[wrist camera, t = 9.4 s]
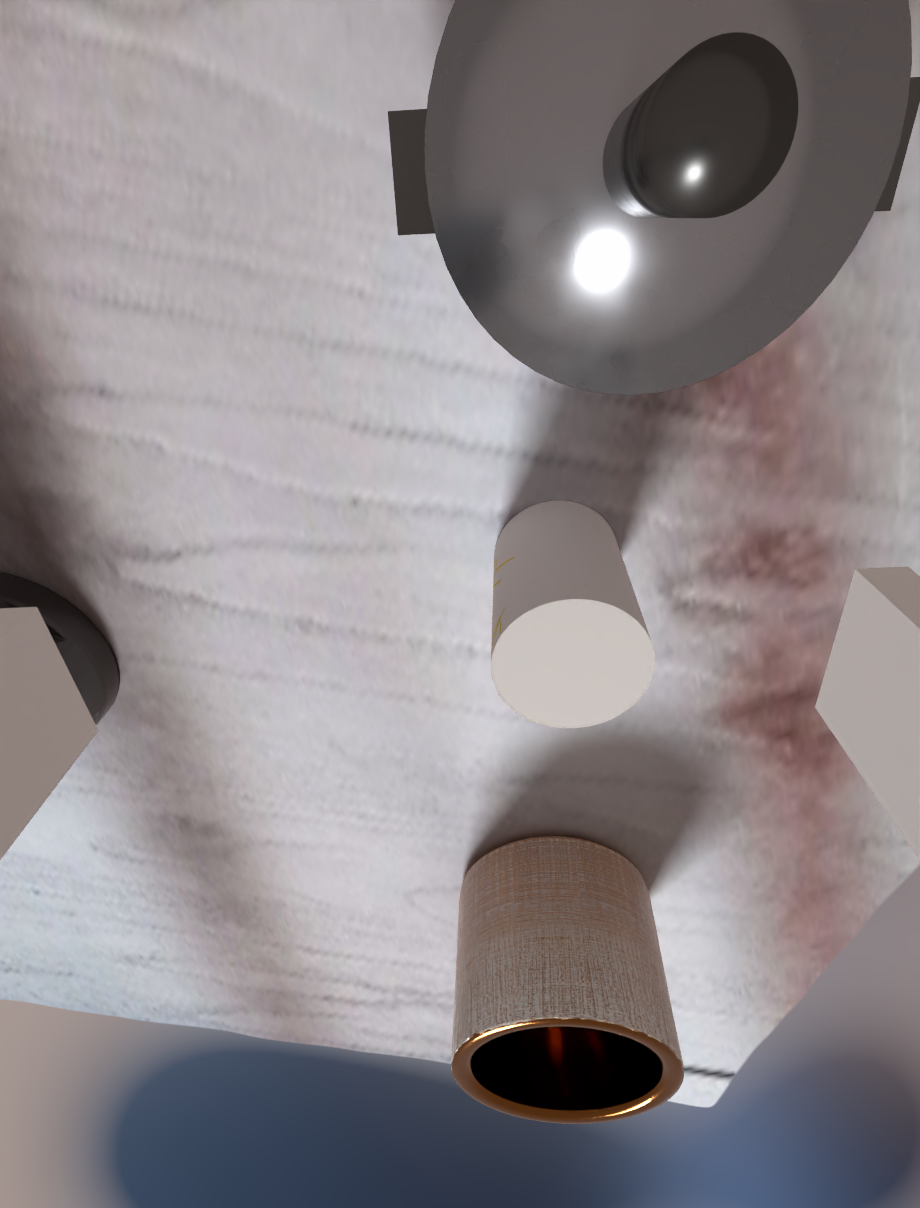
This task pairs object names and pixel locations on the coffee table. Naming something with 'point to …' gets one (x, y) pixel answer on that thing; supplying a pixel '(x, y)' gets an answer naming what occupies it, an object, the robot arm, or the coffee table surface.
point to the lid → (657, 173)
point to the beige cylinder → (566, 619)
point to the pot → (412, 178)
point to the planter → (561, 986)
